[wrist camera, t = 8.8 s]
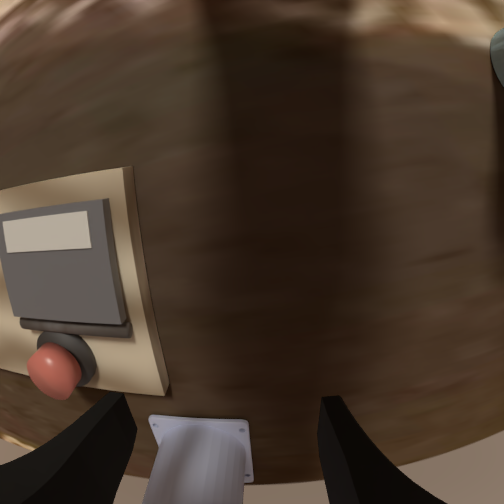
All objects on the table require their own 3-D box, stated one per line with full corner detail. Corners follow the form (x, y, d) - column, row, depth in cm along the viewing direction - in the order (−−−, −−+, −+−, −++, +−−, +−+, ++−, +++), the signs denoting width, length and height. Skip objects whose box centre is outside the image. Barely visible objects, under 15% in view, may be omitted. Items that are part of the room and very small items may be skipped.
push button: (88, 387, 19) (77, 403, 17) (50, 380, 19) (38, 395, 17) (71, 344, 18) (58, 360, 16) (33, 339, 18) (19, 353, 16)
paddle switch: (126, 318, 18) (120, 325, 17) (20, 312, 18) (13, 316, 17) (109, 198, 16) (101, 199, 15) (1, 213, 17) (-8, 215, 16)
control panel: (169, 382, 22) (161, 405, 19) (-8, 355, 23) (-22, 369, 20) (132, 166, 17) (114, 169, 15) (-52, 204, 18) (-72, 211, 16)
